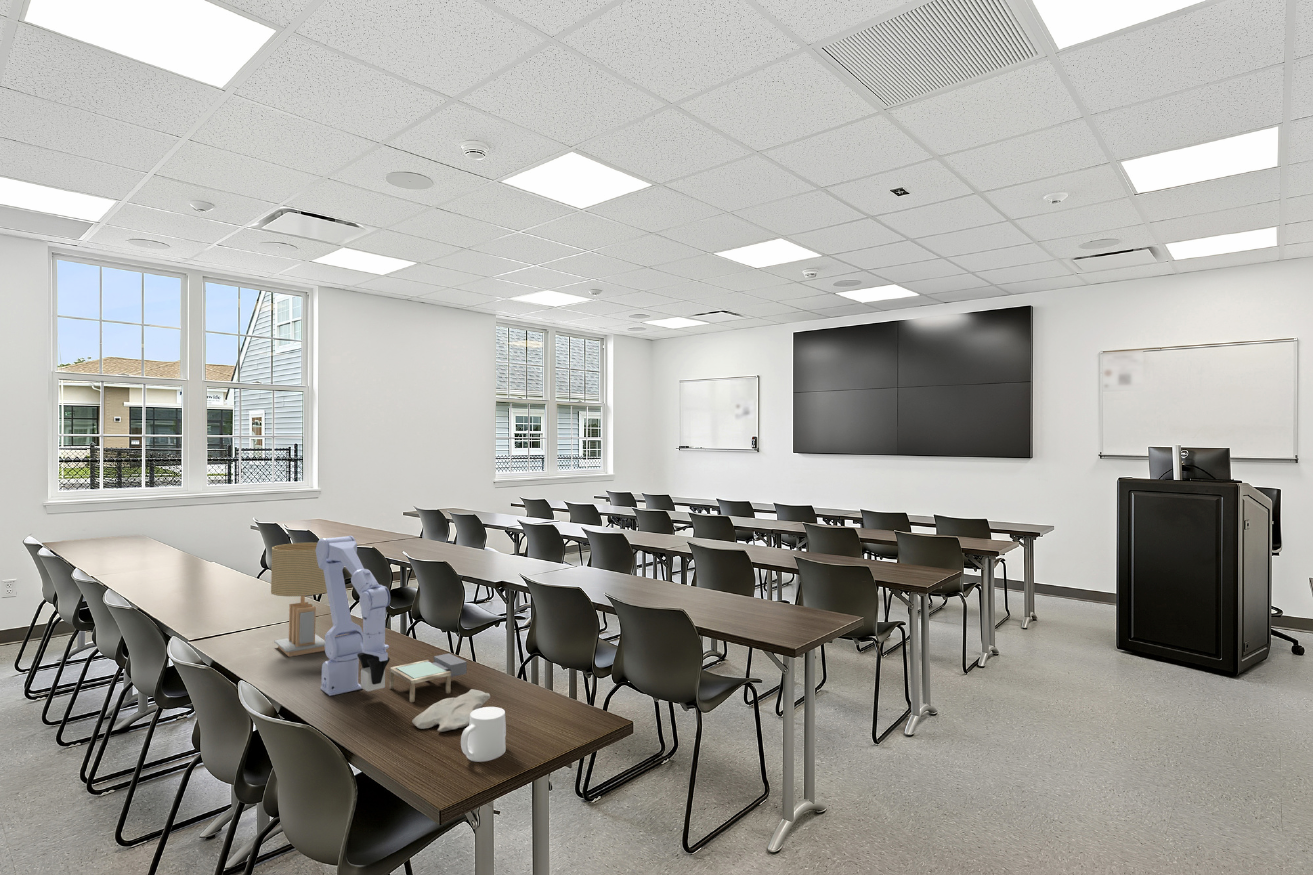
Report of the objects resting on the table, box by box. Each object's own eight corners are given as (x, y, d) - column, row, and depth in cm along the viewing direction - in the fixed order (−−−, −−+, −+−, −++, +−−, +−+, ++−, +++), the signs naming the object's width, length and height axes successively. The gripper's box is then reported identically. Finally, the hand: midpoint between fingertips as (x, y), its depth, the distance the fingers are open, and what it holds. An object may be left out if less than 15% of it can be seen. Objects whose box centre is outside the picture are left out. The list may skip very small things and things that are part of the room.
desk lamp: (262, 647, 243) (265, 545, 243) (322, 638, 256) (325, 541, 256) (277, 661, 228) (280, 552, 229) (340, 650, 241) (342, 547, 242)
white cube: (367, 691, 191) (367, 672, 191) (360, 686, 195) (361, 668, 195) (384, 687, 195) (385, 669, 195) (377, 683, 198) (378, 665, 198)
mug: (491, 703, 170) (514, 710, 166) (490, 741, 170) (513, 750, 166) (451, 718, 160) (475, 726, 156) (450, 759, 160) (474, 769, 156)
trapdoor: (448, 664, 217) (448, 652, 217) (467, 673, 208) (467, 662, 208) (396, 675, 205) (396, 663, 205) (414, 686, 197) (414, 673, 197)
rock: (509, 719, 185) (479, 698, 196) (510, 702, 185) (479, 682, 195) (434, 749, 170) (406, 725, 180) (435, 731, 170) (406, 708, 180)
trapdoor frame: (427, 679, 213) (427, 659, 213) (450, 692, 203) (450, 671, 203) (389, 688, 205) (389, 667, 205) (411, 702, 195) (411, 680, 195)
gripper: (399, 634, 192) (397, 684, 192) (377, 624, 203) (376, 671, 203) (373, 639, 187) (372, 690, 187) (352, 628, 198) (351, 676, 198)
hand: (372, 680), depth 195 cm, fingers closed on white cube, 5 cm apart
